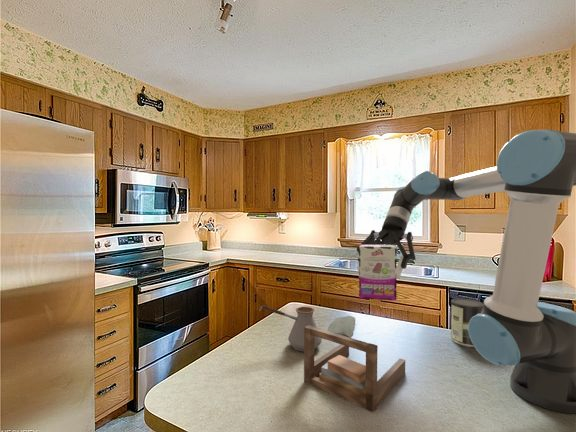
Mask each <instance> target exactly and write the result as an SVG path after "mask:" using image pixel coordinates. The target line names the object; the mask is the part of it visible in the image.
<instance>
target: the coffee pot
mask: <svg viewBox="0 0 576 432" xmlns="http://www.w3.org/2000/svg"><path fill="white" fill-rule="evenodd" d="M262 309H265V310H266V311H270V312H272V313H274V314H277V315H280V316H283V317H287V318H289V319H292V320H295V321H294V323H293V325H292V327H291V330H290V332H289V334H288V338H287V340H288V342H289V344H290V346H292V347H293V348H294V349H295V350H296V351H298V352H303V353H304V327H306V326H308V325H310V326H313V327H316V328H318V326H317V323H316V322H315V321H316V320H315V318H314V312H315V308H313V307H310V306H298V307H297V308H295V312H296V313H297V316H293V315H290V314H287V313H285V312H283V311H281V310H278V309H276V308H272V307H269V306H266V305H263V304H262V305H260V307H259V312H261V311H262ZM322 341H323V338H319V337H316V336H314V351H315V350H317V348H318V347H319V346H320V345H321V343H322Z"/></svg>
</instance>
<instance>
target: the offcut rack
mask: <svg viewBox="0 0 576 432" xmlns="http://www.w3.org/2000/svg"><path fill="white" fill-rule="evenodd" d="M314 336H316V337H319V338H322V340H326V341H330V342H333V343H336V344H339V345H336V346H335V347H334V348H332V349H331V350H329V351H328V352H326V353H324V354H323V355H322V356H320V357H318V358H316V359H315V350H314ZM378 346H379V345H377V344H375V343H374V344H373V343H371V342H370V343H369V342H366V341H362V340H359V339H356V338H352V337H351V338H349V337H346V336H343V335H339V334H336V333H332V332H329V331H328V330H325V329H322V328H318V327H317V328H316V327H313V326H310V325H308V326H306V327H304V352H303V382H304V383H306V384H307V385H308V384H309V385H312V386H314V387H316V388H319V389H321V390H323V391H326V392H328V393H330V394H331V395H333V396H337V397H339V398H341V399H342V400H346V401H348V402H350V403H353V404H354V405H356V406H359V407H361V408H364V409H365V410H366V411H370V412H371V413H374V412H376V410H377V409H378V406H379V405H380V404H381V403H382V402H383V400H385V398H386V397H387V395H389V393H390V392H391V391H392V390H393V389H394V388H395V387H396V386H397V384H398V383H399V382H400V381H401V380H402V378H403V377H404V376H405V375H406V359H403V358H399V359H397V361H395V363H394V364H393V365H392V366H391V367H390V368H389V369H388V370H386V372H385V373H384V374H383V375H382V376H381V377H380V378H379V379H378ZM350 348H351V349H355V350H358V351H361V352H364V353H365V366H366V385H365V397H363V396H361V395H359V394H356V393H354V392H351V391H349V390H347V389H344V388H342V387H339V386H337V385H335V384H332V383H330V382H327V381H325V380H323V379H320V378H319V374H320V373H321V367H322V366H323V365H325V364H326V363H327V362H328V361H329V360H331V359H332V358H334V357H336V356H338V355H341V356H343V357H346V358H348V356H350Z"/></svg>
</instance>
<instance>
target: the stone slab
mask: <svg viewBox="0 0 576 432" xmlns="http://www.w3.org/2000/svg"><path fill="white" fill-rule="evenodd" d="M355 324H356V318H355V316H351V315H347V316H339V317H335V319H334V320H333V321H332V323H330V324H329V327H328V329H327V331H329V332H332V333H336V334H339V335H343V336H346V337H349V338H352V337H353V335H354V331H355V327H356V326H355Z"/></svg>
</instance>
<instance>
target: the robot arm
mask: <svg viewBox="0 0 576 432" xmlns="http://www.w3.org/2000/svg"><path fill="white" fill-rule="evenodd" d="M573 187H576V132H568V131H561V130H553V129H532V130H531V129H530V130H526V131H523V132H520V133H518V134H516V135H515V136H513V137H512V138H511V139H510V140H508V141H507V142H506V143H505V144H504V145H503V147H502V148H501V150H500V151H499V154H498V156H497V160H496V166H493V167H492V166H491V167H488V168H485V169H481V170H476V171H473V172H468V173H464V174H461V175H458V176H457V175H456V176H453V177H438V176H437V175H436V174H435V173H434V172H431V171H429V170H423V171H421V172H420V173H418V174H417V175H415V176H414V177H413V178H412V179H411V180H410V181H409V182H408V183H407V184H406V185H404V186H400V187H399V188H398V189H397V190H396V192H395V193H394V195H393V198H392V201H391V203H390V207H389V208H388V211H387V214H386V216H385V220H384V221H383V224H382V227H381V230H380V231H376V230H375V229H372V230H371V232H370V233H369V235H368V236H367V237H366V238H365V239H364V240H363V241H362V242H361V244H364V245H395V246H396V247H397V249H398V250H399V252H400V254H401V255H400V256H399V259H398V261H397V268H396V271H395V275H396V277H397V279H398V280H400V279H401V276H402V275H401V274H402V272H403V269H404V270H405V269H407V265H408V263H409V261H415V260H416V254H415V250H414V245H413V244H414V243H413V239H414V237H413V233H412V231H408V232H407V233H406V229H407V226H408V224H409V221H410V218H411V216H412V212H413V210H414V208H415V207H417V206H418V205H419V204H421V203H422V202H423V201H425V200H440V201H441V200H443V201H444V200H447V201H461V200H465V199H467V198H469V197H476V196H481V195H489V194H495V193H502V192H505V194H506V195H507V196H508V197H509V198H510V200H509V206H508V211H507V217H506V222H505V227H504V234H503V237H502V243H501V250H500V253H499V254H500V255H499V259H498V266H497V269H496V270H497V271H496V276H495V280H494V287H493V292H492V295H490V296H488V297H486V298H485V299H484V300H483V309H482V314H477V315H475V316H473V317H472V318H471V319H470V321H469V325H468V332H469V336H470V339H471V342H472V343H473V344H474V347H473V348H475V350H476V352H478V354H479V355H480V356H481V357H482V358H484V359H485V360H486V361H487V362H489V363H491V364H493V365H497V366H502V367H503V366H510V367H512V366H514V368H513V369H512V372H511V374H510V376H509V377H510V378H509V380H510V381H509V384H510V385H509V386H510V388H511V390H512V391H513V392H514V393H515V394H516V395H518V396H519V397H520V398H522V399H524V400H525V401H527V402H529V403H531V404H534V405H535V406H538V407H541V408H543V409H546V410H550V411H554V412H556V413H557V412H558V413H563V414H572V415H573V413H576V312H575V311H574V310H571V309H569V308H566V307H563V306H559V305H555V304H553V303H552V304H550V303H548V302H543V301H539V299H540V295H541V289H542V284H543V280H544V276H545V272H546V266H547V263H548V258H549V253H550V250H551V249H550V248H551V245H552V239H553V235H554V230H555V229H554V228H555V225H556V220H557V217H558V216H557V215H558V211H559V207H560V205H561V203H562V202H564V201H566V200H567V199H569V198H571V196H572V191H573ZM403 239H405V240H406V242H407V248H408V250H409V251H408V252H407V251H406V250H405V248H404V246H403V244H402V243H401V241H402V240H403ZM356 251H357V254H359V246H357V248H356ZM357 262H358V264H357V266H356V269H357V272H358V273H359V257H358V259H357ZM397 279H396V280H397Z"/></svg>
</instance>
